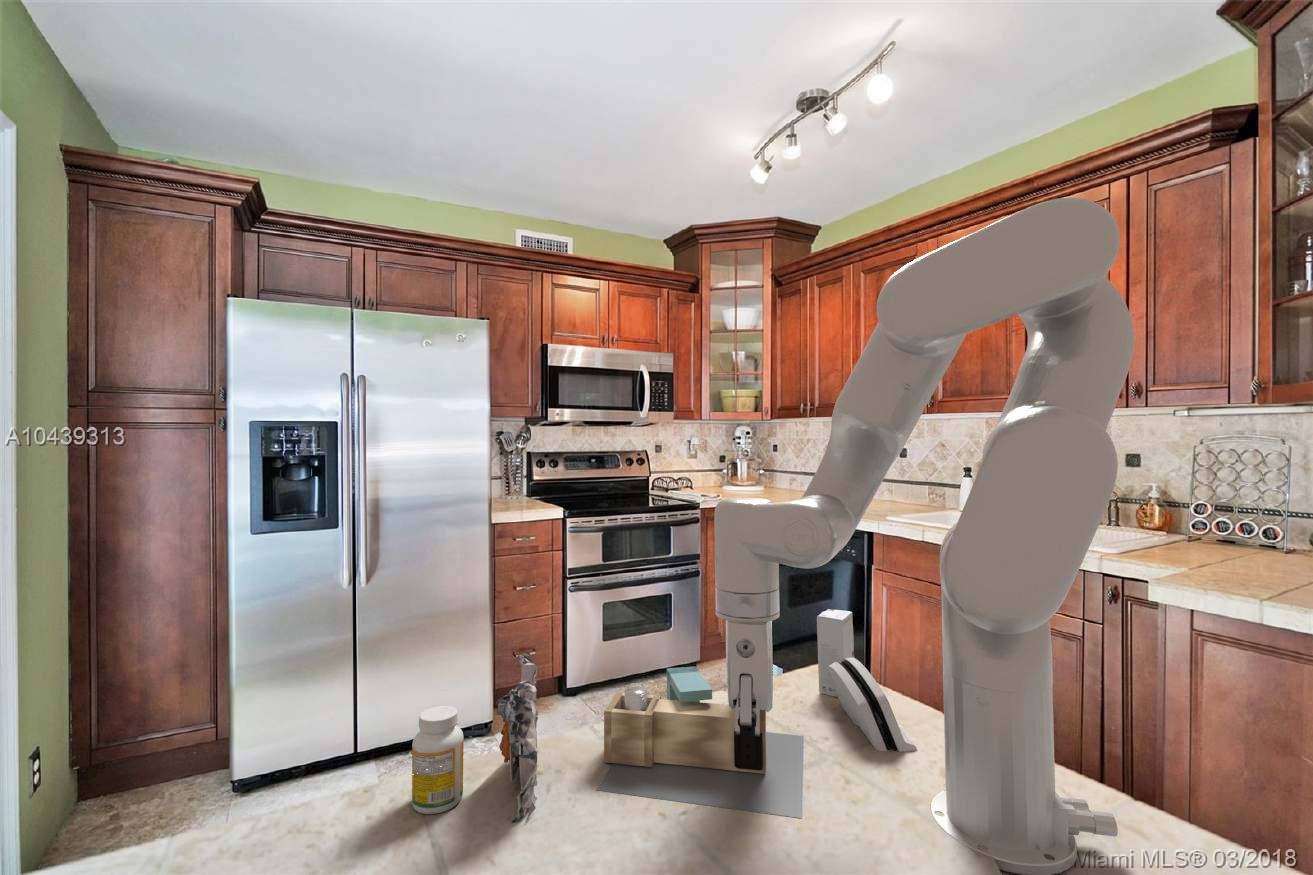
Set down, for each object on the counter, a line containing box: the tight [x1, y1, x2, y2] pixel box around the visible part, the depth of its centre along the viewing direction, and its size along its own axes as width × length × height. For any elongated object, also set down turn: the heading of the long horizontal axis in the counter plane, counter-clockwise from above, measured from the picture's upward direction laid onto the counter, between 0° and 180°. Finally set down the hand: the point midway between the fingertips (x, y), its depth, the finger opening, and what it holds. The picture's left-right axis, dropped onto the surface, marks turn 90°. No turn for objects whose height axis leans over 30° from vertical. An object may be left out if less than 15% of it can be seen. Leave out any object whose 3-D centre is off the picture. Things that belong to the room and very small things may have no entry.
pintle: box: [624, 685, 648, 711], centre depth 74 cm, size 3×3×8 cm
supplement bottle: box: [411, 705, 465, 815], centre depth 66 cm, size 5×5×10 cm
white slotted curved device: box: [828, 657, 918, 753], centre depth 82 cm, size 17×5×10 cm, turn 179°
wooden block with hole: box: [603, 691, 767, 774], centre depth 72 cm, size 19×6×6 cm, turn 78°
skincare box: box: [816, 608, 855, 698], centre depth 96 cm, size 6×4×12 cm
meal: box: [495, 654, 539, 823], centre depth 67 cm, size 15×4×13 cm, turn 11°
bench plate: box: [595, 731, 805, 819], centre depth 71 cm, size 22×18×1 cm
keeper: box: [666, 665, 713, 702], centre depth 76 cm, size 4×8×8 cm, turn 11°
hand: (749, 757), depth 70 cm, fingers closed on wooden block with hole, 3 cm apart
